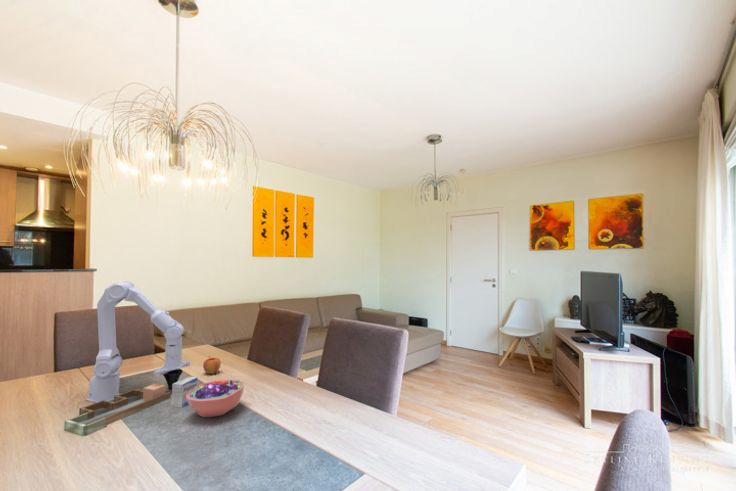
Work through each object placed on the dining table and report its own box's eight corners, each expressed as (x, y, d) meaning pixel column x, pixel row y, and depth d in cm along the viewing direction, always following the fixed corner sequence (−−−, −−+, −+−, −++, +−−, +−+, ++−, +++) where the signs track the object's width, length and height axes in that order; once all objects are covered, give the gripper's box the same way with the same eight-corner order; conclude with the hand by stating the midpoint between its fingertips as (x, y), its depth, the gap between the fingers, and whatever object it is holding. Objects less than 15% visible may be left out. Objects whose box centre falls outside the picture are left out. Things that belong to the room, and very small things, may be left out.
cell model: (255, 406, 122) (256, 375, 123) (208, 431, 104) (210, 394, 105) (222, 397, 129) (223, 368, 130) (173, 419, 111) (174, 385, 112)
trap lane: (53, 426, 105) (54, 417, 105) (142, 392, 132) (142, 386, 132) (84, 435, 100) (84, 426, 100) (170, 399, 127) (170, 391, 127)
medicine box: (181, 409, 119) (182, 384, 119) (170, 407, 120) (172, 383, 120) (197, 400, 127) (198, 377, 127) (186, 398, 127) (188, 376, 128)
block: (142, 400, 124) (143, 387, 124) (155, 395, 129) (156, 383, 129) (152, 402, 122) (153, 390, 123) (164, 397, 127) (165, 385, 127)
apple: (215, 376, 152) (216, 358, 152) (199, 376, 152) (200, 358, 153) (222, 371, 159) (223, 354, 160) (207, 370, 160) (208, 353, 160)
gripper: (164, 360, 125) (162, 397, 125) (196, 351, 139) (194, 384, 138) (150, 358, 128) (148, 394, 127) (183, 349, 141) (181, 381, 141)
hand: (171, 389), depth 133 cm, fingers closed
